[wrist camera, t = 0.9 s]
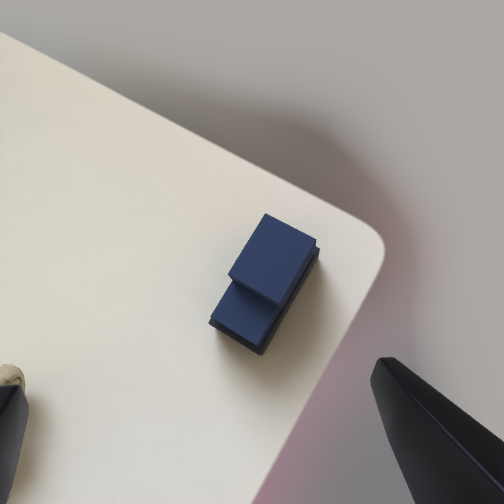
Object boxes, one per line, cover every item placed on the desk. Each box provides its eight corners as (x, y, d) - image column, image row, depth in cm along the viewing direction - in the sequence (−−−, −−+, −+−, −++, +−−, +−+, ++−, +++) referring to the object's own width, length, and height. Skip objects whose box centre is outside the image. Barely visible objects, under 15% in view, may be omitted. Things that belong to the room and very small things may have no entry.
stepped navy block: (271, 232, 31) (266, 205, 26) (318, 257, 30) (322, 234, 25) (214, 326, 30) (196, 318, 24) (262, 355, 28) (254, 354, 23)
